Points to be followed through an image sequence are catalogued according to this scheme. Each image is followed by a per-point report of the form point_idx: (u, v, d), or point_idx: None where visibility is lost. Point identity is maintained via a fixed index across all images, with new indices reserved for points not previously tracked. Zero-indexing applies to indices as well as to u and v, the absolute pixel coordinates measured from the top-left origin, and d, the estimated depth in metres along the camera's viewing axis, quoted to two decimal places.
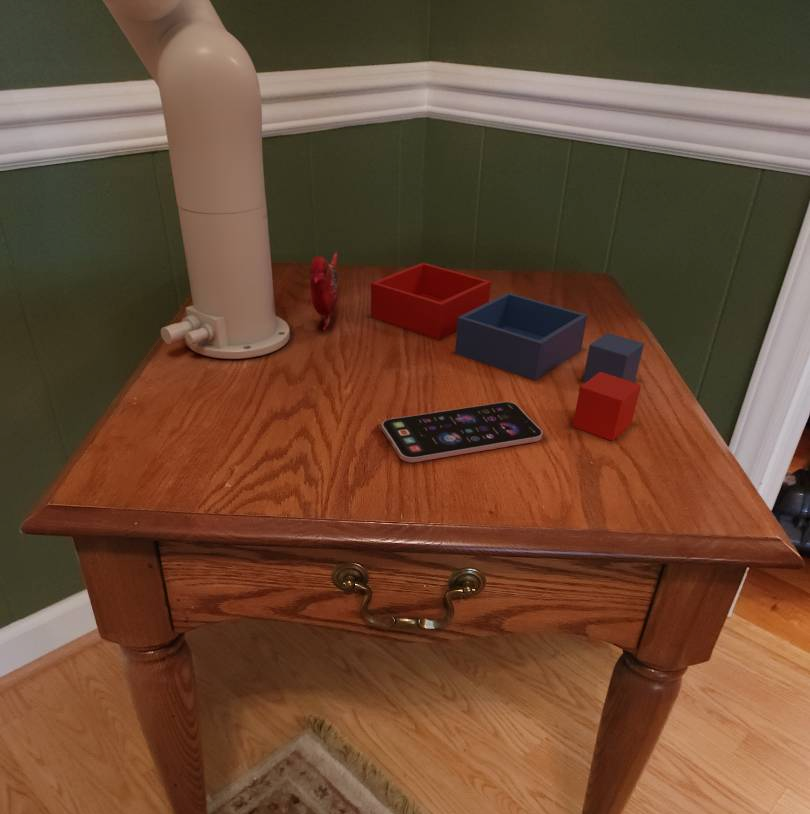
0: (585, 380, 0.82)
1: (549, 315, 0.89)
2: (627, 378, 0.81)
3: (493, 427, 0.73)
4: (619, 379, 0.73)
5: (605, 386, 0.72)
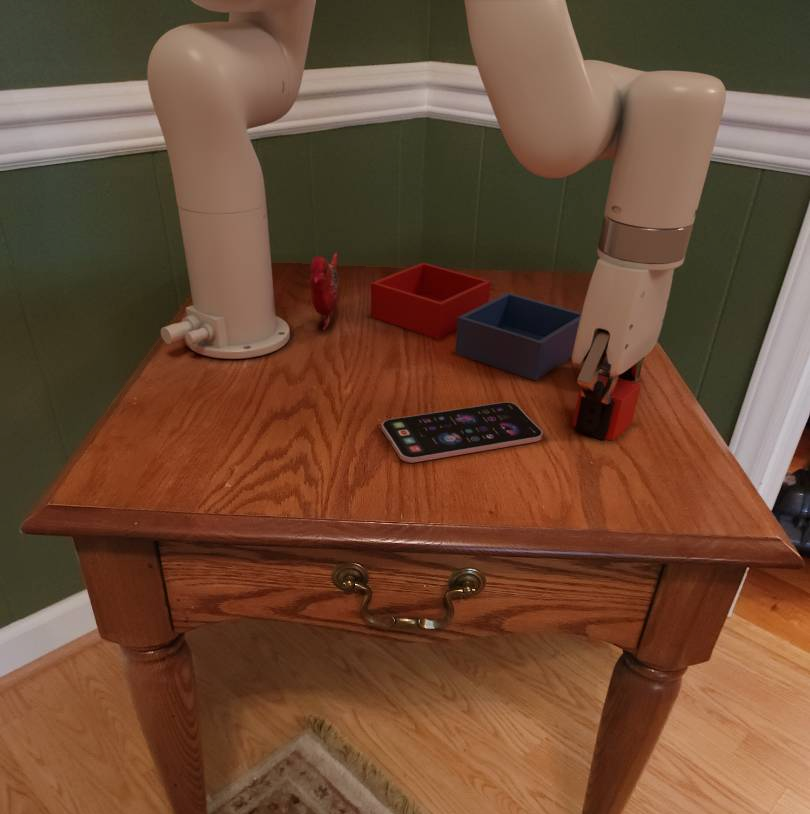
0: None
1: (549, 315, 0.89)
2: None
3: (493, 427, 0.73)
4: (619, 379, 0.73)
5: (605, 386, 0.72)
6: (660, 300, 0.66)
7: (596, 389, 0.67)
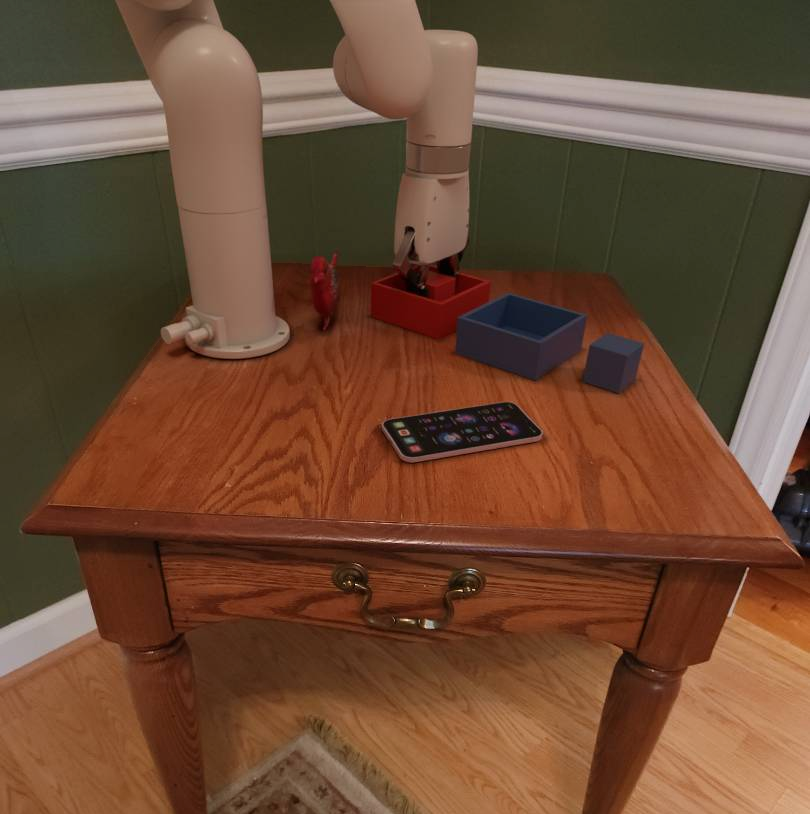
0: (585, 380, 0.82)
1: (549, 315, 0.89)
2: (627, 378, 0.81)
3: (493, 427, 0.73)
4: (440, 274, 0.95)
5: (427, 278, 0.94)
6: (456, 206, 0.88)
7: (409, 274, 0.89)
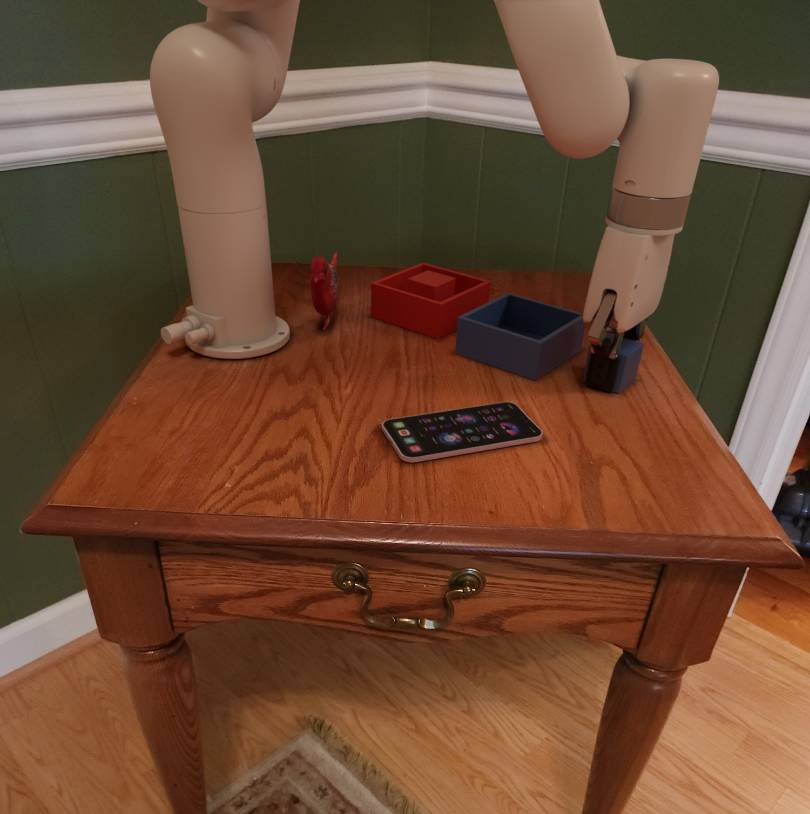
0: (585, 380, 0.82)
1: (549, 315, 0.89)
2: (627, 378, 0.81)
3: (493, 427, 0.73)
4: (440, 274, 0.95)
5: (427, 278, 0.94)
6: (661, 264, 0.74)
7: (604, 344, 0.75)
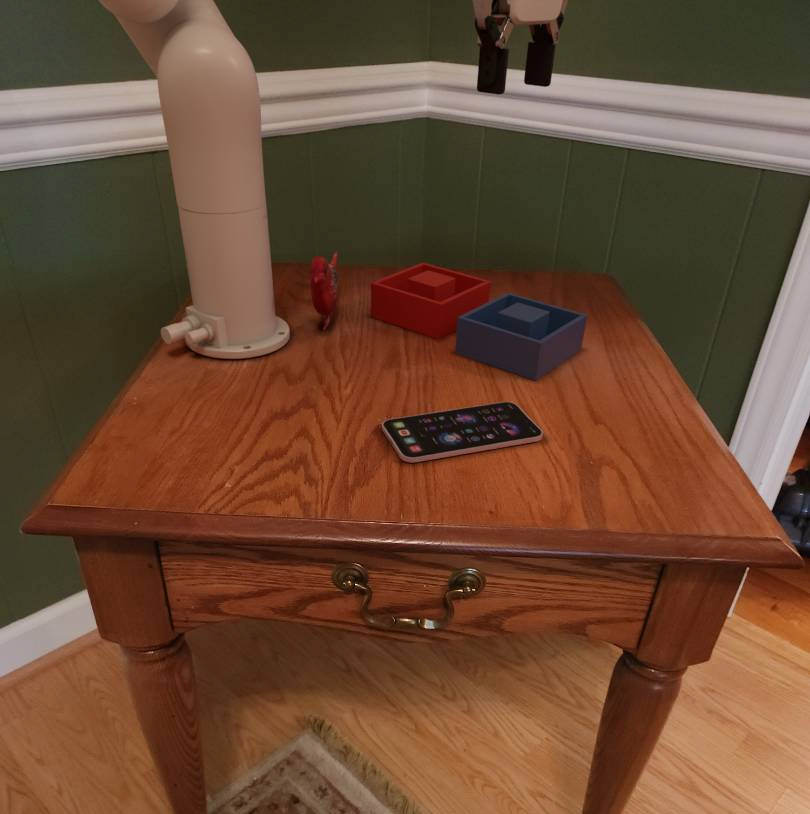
0: None
1: (549, 315, 0.89)
2: None
3: (493, 427, 0.73)
4: (440, 274, 0.95)
5: (427, 278, 0.94)
6: None
7: (488, 19, 0.71)
